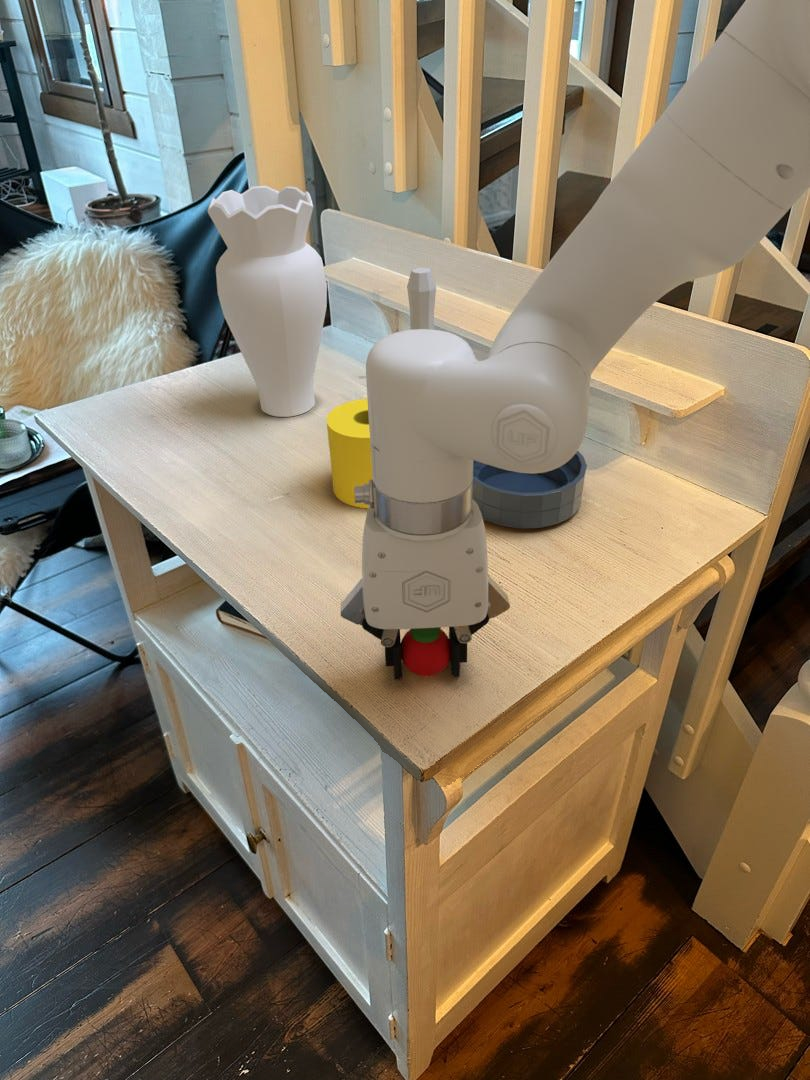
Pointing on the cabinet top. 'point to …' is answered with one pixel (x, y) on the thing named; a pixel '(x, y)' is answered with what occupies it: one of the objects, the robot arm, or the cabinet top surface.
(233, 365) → the cabinet top surface
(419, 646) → the toy tomato
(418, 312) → the faceted bottle
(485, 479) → the bowl
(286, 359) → the vase
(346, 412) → the yellow toilet paper roll
